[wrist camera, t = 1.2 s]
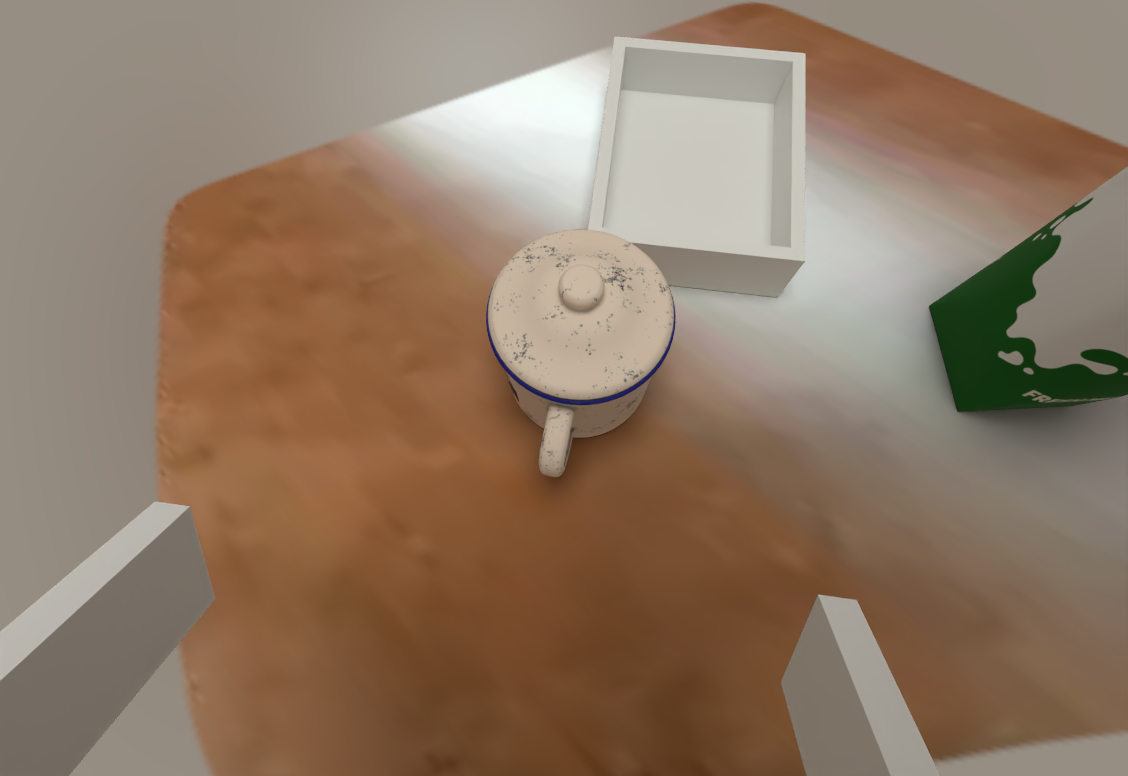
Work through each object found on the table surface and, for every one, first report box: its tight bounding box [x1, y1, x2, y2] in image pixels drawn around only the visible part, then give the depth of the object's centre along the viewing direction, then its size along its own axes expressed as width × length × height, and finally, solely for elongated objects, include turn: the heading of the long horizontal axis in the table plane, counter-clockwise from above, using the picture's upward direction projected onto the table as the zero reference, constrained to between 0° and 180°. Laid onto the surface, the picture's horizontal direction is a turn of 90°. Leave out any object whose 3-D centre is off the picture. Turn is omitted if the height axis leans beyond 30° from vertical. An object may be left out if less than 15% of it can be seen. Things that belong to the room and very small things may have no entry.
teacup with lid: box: [486, 229, 675, 477], centre depth 29 cm, size 12×9×12 cm
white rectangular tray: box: [588, 37, 805, 297], centre depth 37 cm, size 13×16×4 cm
